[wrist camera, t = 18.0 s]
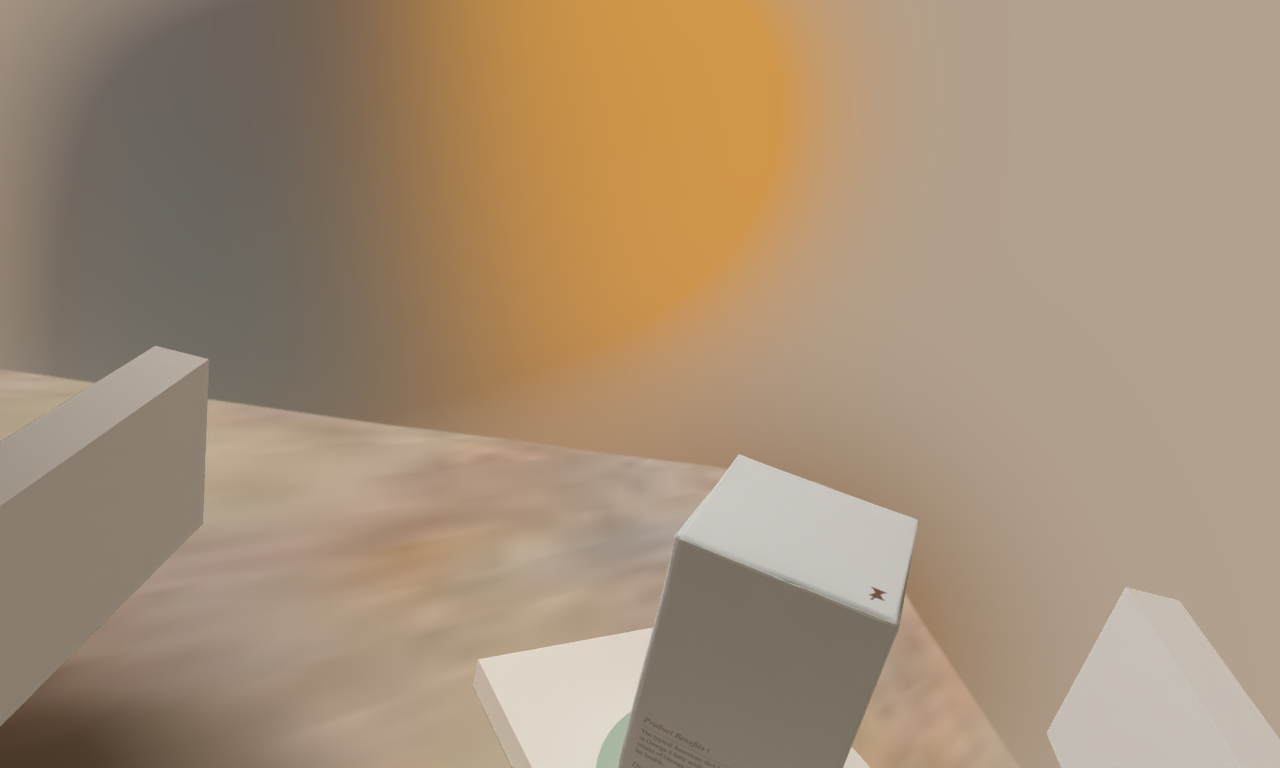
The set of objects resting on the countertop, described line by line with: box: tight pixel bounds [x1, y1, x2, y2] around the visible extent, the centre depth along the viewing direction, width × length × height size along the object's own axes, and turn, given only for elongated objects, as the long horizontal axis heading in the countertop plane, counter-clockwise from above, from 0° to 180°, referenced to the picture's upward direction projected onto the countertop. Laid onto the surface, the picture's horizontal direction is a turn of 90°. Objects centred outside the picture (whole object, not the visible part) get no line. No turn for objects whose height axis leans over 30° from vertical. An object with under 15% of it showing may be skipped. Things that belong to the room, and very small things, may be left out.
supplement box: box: [617, 455, 918, 768], centre depth 34 cm, size 7×7×13 cm
